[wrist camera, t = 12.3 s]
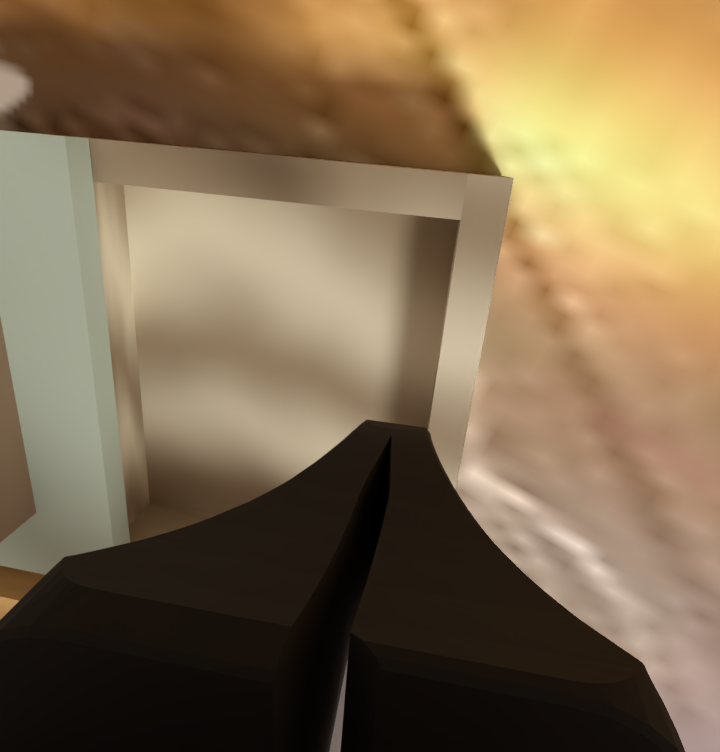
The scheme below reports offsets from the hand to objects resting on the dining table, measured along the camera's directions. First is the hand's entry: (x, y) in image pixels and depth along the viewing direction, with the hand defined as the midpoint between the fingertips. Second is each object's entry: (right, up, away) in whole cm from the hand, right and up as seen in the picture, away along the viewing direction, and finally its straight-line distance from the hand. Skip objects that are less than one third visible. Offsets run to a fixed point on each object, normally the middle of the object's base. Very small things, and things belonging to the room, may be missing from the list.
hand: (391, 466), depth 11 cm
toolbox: (-4, +2, +10) cm, 11 cm away
